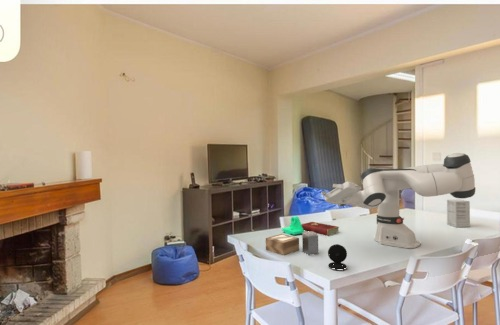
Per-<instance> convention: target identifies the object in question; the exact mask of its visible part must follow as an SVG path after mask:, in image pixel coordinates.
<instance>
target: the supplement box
mask: <svg viewBox="0 0 500 325" xmlns="http://www.w3.org/2000/svg"><path fill="white" fill-rule="evenodd" d="M470 204H471V203H470V201H469V200H465V199H460V198H456V199H446V220H447V221H446V224H447V225H449V226H452V227H454V228H471V212H470V211H471V210H470V209H471V208H470V207H471V205H470Z"/></svg>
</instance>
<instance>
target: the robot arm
mask: <svg viewBox="0 0 500 325" xmlns="http://www.w3.org/2000/svg"><path fill="white" fill-rule="evenodd" d="M360 179H361V180H360V181H361V183H362V186H360V185H358V184H357V183H355V182H352V181H344V183H338V184H337V183H333V184H332V185H331V188H333V189H332V190H331V191H329V192H327V191H326V190H322V191H321V192H320V193H321V195H322V196H324V201H325V202H326V203H328V204H332V205H337V206H338V207H345V206H351V205H352V206H357V207H358V208H361V209H367V210H375V209H377V212H376V213H377V214H376V233H375V237H374V241H375V242H377V243H378V244H380V245H385V246H391V247H398V248H405V249H415V248H418V247H420V246H421V241H419V240H416V239H417V238H416V233H415V232H414V231H413V230H412V229H410V228H409V227H408V226H407V225H406V224H404V220H405V217H402V216H400V191H403V190H408V189H412V191H414V192H415V193H416V194H418V195H419V196H421V197H423V198H424V197H426V198H427V197H436V196H444V195H448V194H449V195H451V196H452V197H453V198H455V199H461V200H464V199H467V198H472V197H473V196H474V195H475V194H476V183H475V174H474V170H473V167H472V164H471V159H470V157H469V155H468V154H466V153H461V152H455V153H450V154H448V155H447V156H445V158H444V159H443V163H433V164H425V165H416V166H410V167H403V168H376V167H375V168H373V167H371V168H367V169H365V170H363V172H362V173H361V175H360ZM362 187H363V190H362Z"/></svg>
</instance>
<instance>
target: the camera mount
mask: <svg viewBox="0 0 500 325" xmlns="http://www.w3.org/2000/svg"><path fill="white" fill-rule="evenodd" d="M301 224H302V222H301V220H300V217H299V216H291V217H290V223H289V226H287V227H282V229H281V230H282V232H285V235H288V236H292V235H300V234H303V232H305V231H304V230H303V228H302V225H301ZM291 234H292V235H291Z"/></svg>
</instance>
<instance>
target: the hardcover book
mask: <svg viewBox="0 0 500 325" xmlns="http://www.w3.org/2000/svg"><path fill="white" fill-rule="evenodd" d="M301 225H302V228H303V230H305V231H304V232H308V231H312V232H315V233H317V235H321V236H322V235H323V236H327V237H329V236H331V235H335V234H338V233H339V228H340V226H336V225H332V224H326V223H321V222H315V221H309V222H305V223H301Z"/></svg>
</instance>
